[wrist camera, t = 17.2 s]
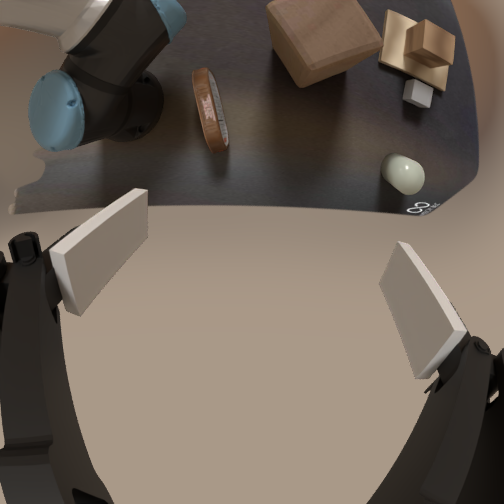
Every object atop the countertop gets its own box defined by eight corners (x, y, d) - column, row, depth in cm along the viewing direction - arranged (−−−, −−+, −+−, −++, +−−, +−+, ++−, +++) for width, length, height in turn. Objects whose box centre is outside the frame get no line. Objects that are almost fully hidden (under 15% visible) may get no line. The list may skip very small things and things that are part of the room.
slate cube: (402, 99, 37) (411, 98, 34) (405, 80, 35) (414, 79, 32) (419, 107, 37) (429, 107, 34) (423, 89, 35) (433, 88, 32)
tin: (200, 74, 40) (184, 67, 32) (217, 69, 39) (204, 61, 32) (218, 150, 47) (205, 157, 39) (234, 146, 46) (225, 153, 39)
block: (348, 70, 37) (389, 46, 19) (298, 90, 40) (310, 74, 22) (320, 24, 33) (341, -23, 15) (270, 44, 36) (260, 2, 19)
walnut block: (403, 55, 32) (422, 47, 25) (406, 29, 29) (425, 19, 22) (430, 68, 32) (452, 64, 25) (433, 43, 29) (455, 36, 22)
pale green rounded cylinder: (377, 178, 46) (389, 189, 39) (385, 148, 43) (400, 155, 36) (403, 187, 45) (418, 199, 39) (411, 158, 42) (428, 167, 36)
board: (378, 61, 35) (380, 60, 33) (385, 11, 29) (388, 9, 27) (441, 90, 34) (444, 90, 33) (447, 42, 28) (450, 41, 27)
